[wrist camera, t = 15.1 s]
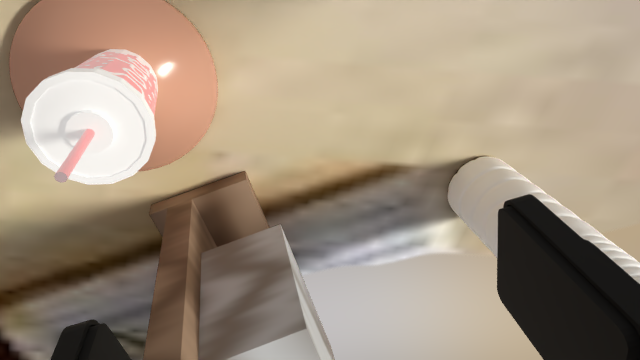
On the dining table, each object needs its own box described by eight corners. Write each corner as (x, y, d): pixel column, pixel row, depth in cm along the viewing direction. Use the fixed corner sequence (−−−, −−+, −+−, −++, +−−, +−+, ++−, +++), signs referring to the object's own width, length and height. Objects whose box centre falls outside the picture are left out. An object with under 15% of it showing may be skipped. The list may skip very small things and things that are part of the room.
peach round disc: (114, -66, 26) (112, -66, 26) (254, 94, 33) (255, 98, 32) (-33, 70, 28) (-40, 73, 27) (127, 197, 34) (125, 202, 34)
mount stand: (262, 164, 36) (308, 359, 19) (321, 311, 45) (387, 529, 28) (151, 204, 35) (98, 441, 18) (233, 344, 44) (248, 586, 28)
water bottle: (434, 184, 40) (688, 455, 19) (493, 141, 40) (828, 374, 18) (472, 239, 45) (713, 510, 23) (526, 201, 44) (827, 447, 22)
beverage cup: (188, 95, 31) (172, 191, 19) (117, 141, 31) (58, 263, 19) (127, 17, 28) (63, 72, 16) (50, 69, 28) (-70, 160, 16)
